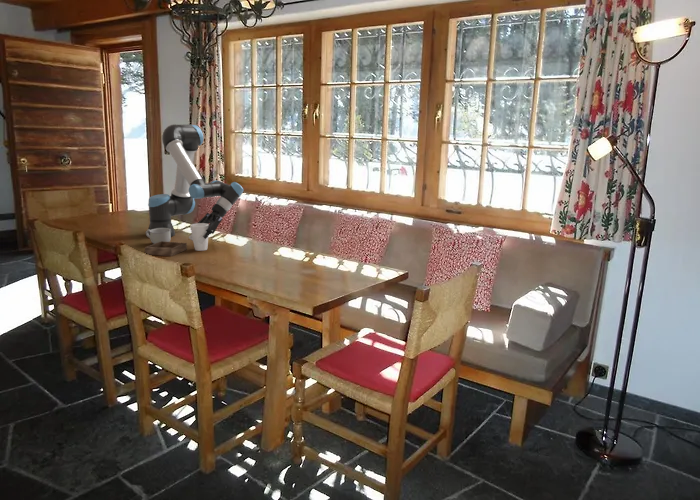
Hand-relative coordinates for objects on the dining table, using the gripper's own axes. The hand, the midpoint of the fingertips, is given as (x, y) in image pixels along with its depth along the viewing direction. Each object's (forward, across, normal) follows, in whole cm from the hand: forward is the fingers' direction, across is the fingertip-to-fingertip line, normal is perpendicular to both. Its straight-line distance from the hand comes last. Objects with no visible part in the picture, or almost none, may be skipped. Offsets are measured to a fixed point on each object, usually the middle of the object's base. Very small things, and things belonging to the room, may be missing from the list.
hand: (194, 240), depth 277 cm
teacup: (+10, +26, +2) cm, 28 cm away
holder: (+13, +6, +6) cm, 15 cm away
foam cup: (+1, 0, -6) cm, 6 cm away
